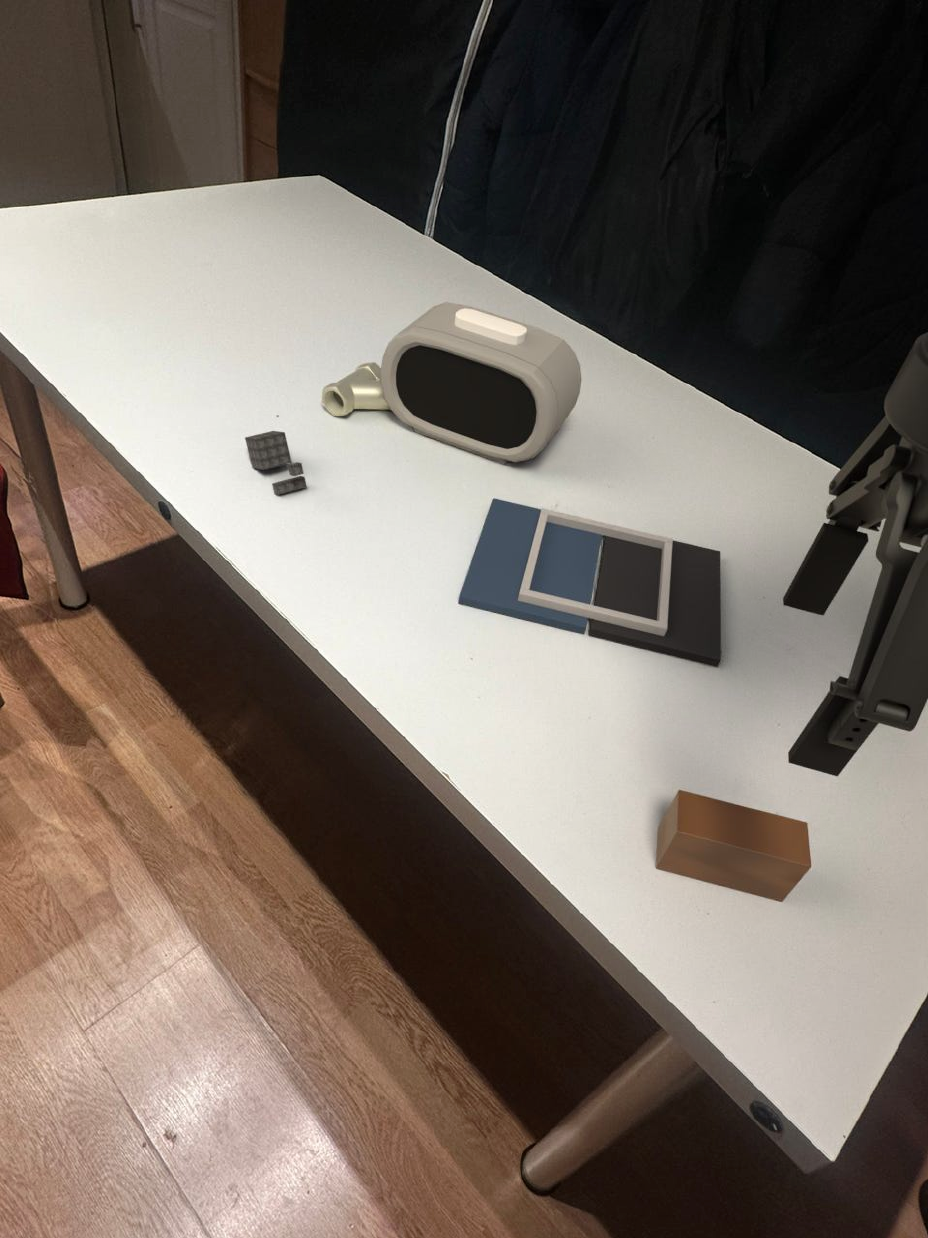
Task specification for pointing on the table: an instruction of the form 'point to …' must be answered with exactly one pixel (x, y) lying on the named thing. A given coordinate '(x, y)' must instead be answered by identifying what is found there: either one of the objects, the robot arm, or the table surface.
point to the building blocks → (275, 459)
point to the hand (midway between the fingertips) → (806, 678)
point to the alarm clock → (481, 381)
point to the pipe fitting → (356, 391)
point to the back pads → (626, 588)
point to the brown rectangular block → (733, 846)
